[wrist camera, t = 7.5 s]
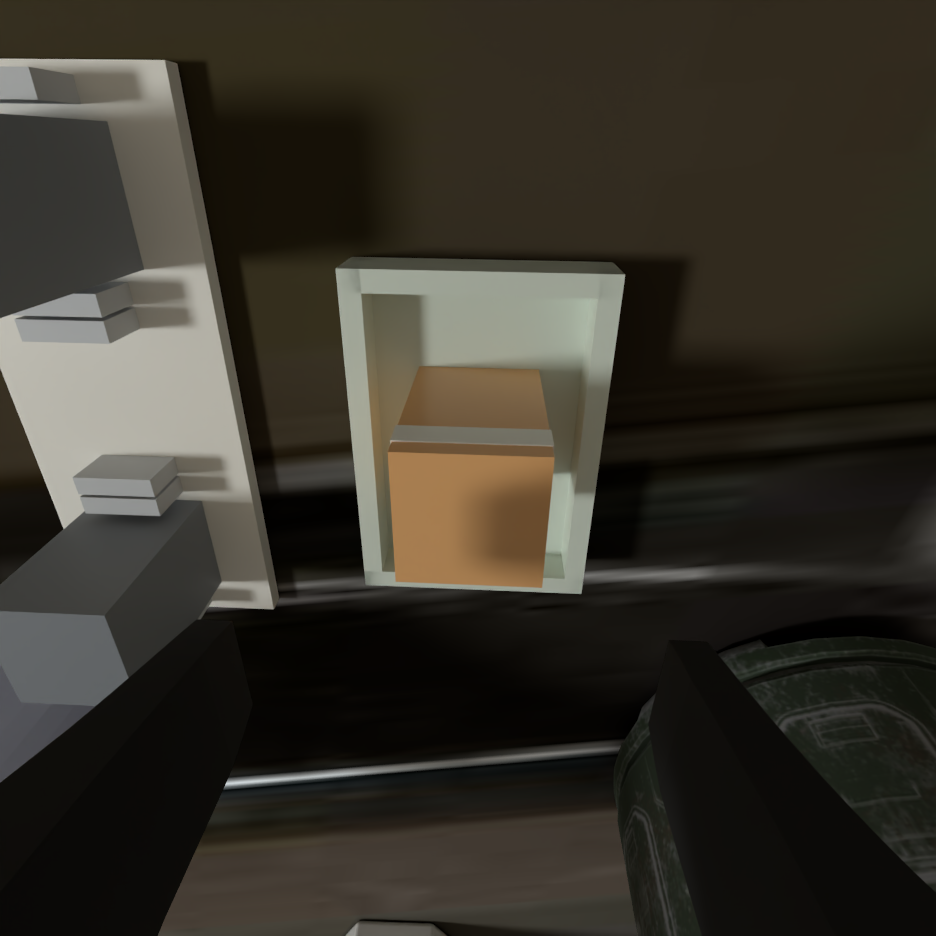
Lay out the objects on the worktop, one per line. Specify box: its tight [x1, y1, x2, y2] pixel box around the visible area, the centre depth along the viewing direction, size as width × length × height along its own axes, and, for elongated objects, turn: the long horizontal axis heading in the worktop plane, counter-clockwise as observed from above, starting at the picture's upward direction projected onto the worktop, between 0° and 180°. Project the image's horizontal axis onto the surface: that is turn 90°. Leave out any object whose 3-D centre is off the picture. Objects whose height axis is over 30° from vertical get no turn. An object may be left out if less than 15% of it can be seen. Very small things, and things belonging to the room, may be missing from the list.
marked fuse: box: [388, 366, 555, 588], centre depth 15 cm, size 4×4×6 cm
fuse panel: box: [0, 59, 279, 706], centre depth 16 cm, size 17×7×6 cm, turn 179°
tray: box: [336, 257, 625, 594], centre depth 18 cm, size 10×7×2 cm
